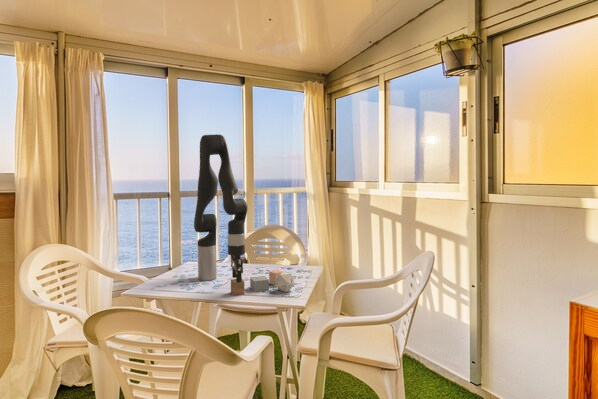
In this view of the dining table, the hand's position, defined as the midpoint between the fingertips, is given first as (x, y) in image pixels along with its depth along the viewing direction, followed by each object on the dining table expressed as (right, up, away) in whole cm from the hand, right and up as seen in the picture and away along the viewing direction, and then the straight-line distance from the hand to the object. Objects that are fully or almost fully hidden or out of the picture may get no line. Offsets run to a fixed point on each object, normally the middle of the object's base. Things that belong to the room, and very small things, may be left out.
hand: (236, 279), depth 164 cm
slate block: (+9, -6, +8) cm, 14 cm away
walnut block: (0, -6, +1) cm, 6 cm away
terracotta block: (+17, -5, +16) cm, 24 cm away
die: (+21, -6, +5) cm, 23 cm away
